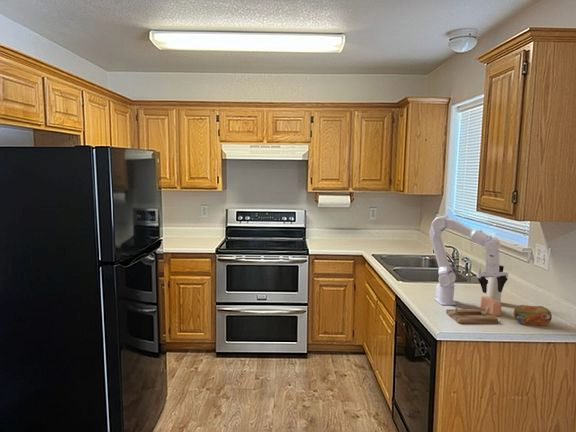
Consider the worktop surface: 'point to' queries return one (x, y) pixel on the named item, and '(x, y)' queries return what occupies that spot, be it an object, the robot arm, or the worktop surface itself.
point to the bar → (491, 305)
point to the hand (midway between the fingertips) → (492, 292)
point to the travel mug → (494, 287)
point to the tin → (532, 315)
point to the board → (471, 316)
